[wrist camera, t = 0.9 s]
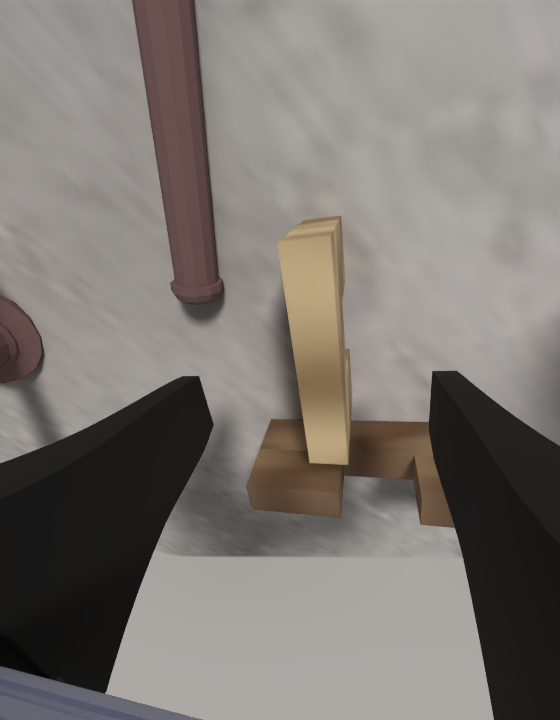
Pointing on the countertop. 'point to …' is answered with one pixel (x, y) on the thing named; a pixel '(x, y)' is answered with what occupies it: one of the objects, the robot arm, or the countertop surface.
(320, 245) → the light wooden block
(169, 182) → the toilet paper hanger
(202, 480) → the countertop surface
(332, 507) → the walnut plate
